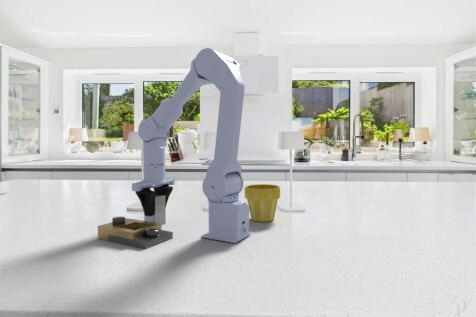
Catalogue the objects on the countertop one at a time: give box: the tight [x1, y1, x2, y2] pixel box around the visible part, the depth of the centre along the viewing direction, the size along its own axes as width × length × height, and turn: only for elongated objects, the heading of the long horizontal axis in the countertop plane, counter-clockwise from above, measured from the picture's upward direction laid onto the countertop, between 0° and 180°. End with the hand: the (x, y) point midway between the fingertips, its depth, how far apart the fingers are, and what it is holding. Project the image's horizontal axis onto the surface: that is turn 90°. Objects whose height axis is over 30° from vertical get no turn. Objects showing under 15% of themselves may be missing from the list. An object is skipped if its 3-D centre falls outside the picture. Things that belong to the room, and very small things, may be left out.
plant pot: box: [244, 183, 281, 223], centre depth 99 cm, size 10×10×10 cm
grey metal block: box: [143, 194, 167, 226], centre depth 92 cm, size 4×4×8 cm
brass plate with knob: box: [97, 216, 174, 250], centre depth 80 cm, size 15×9×4 cm, turn 61°
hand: (154, 213), depth 93 cm, fingers open, 4 cm apart
